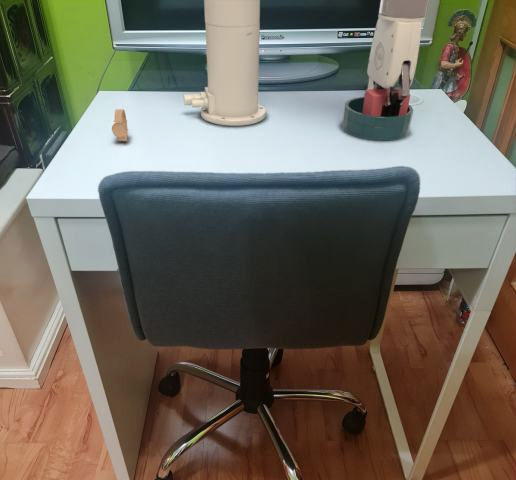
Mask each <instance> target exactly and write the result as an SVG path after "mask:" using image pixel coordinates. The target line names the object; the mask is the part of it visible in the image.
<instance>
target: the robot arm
mask: <svg viewBox="0 0 516 480" xmlns="http://www.w3.org/2000/svg"><path fill="white" fill-rule="evenodd" d="M203 5H204V7H203V8H204V23H205V46H206V50H205V51H206V72H207V86H205V87H204V91H200V92H199V93H197V94H196V93H195V94H194V93H184V94H183V103H184V106H191V108H200V116H201V118H202V119H203V120H205V121H206V122H208V123H211V124H215V125H220V126H230V127H238V126H239V127H240V126H249V125H254V124H257V123H260V122H262V121H263V120H264V119H266V117H267V109H266V108H265V106H263V105H262V104H260V103H259V85H260V84H259V78H260V77H259V76H260V36H261V35H260V32H261V31H260V30H261V29H260V28H261V21H260V20H261V19H260V17H261V0H203ZM428 5H429V0H380V1H379V8H378V15H377V17H378V19H377V21H376V25H375V29H374V33H373V37H372V42H371V47H370V52H369V58H368V62H367V70H366V73H367V76H368V78H369V77H370V78H371V79H372V80H373V84H374V88H373V89H387V91H386V101H385V105H383V107H382V113H381V116H382V117H391V116H399V111H400V106H402V103H403V100H404V99H405V98H406V97H407V96H409V94H411V93H410V92H411V91H410V87H412V84H413V81H414V78H415V74H416V69H417V64H418V59H419V53H420V45H421V37H422V26H423V21H425V19H426V15H427V11H428ZM396 84H399V85H396ZM392 91H398V92H397V93H394V94H393V96H392Z"/></svg>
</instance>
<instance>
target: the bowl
mask: <svg viewBox="0 0 516 480" xmlns="http://www.w3.org/2000/svg"><path fill="white" fill-rule="evenodd" d="M364 98H365V96H359V97H354V98H350V99H348V100H347V101H346V102H345V103H344V109H343V110H344V111H343V116H342V127H341V128H342V130H343V131H344V132H345V133H347V134H348V135H350V136H352V137H356V138H358V139H363V140H367V141H376V142H377V141H378V142H389V141H396V140H400V139H403V138H405V137H407V135H409V130H410V128H411V123H412V118H413V114H414V108H413V106H411V105H410V103H409V104H408V109H407V113H406V114H404V115H399V116H391V117H382V116H372V115H366V114H362V111H363V104H364Z"/></svg>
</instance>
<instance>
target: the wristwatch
mask: <svg viewBox="0 0 516 480" xmlns="http://www.w3.org/2000/svg"><path fill="white" fill-rule="evenodd" d="M113 122H114V123H113V124H112V126H111V133H112V134H113V135H114V136H115V137H116V140H118V142H127V141H128V135H129V132H128V131H129V128H128V120H127V115H126V111H125V109H123V108H122V109H118V108H116V109H115V110H114V120H113Z"/></svg>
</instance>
